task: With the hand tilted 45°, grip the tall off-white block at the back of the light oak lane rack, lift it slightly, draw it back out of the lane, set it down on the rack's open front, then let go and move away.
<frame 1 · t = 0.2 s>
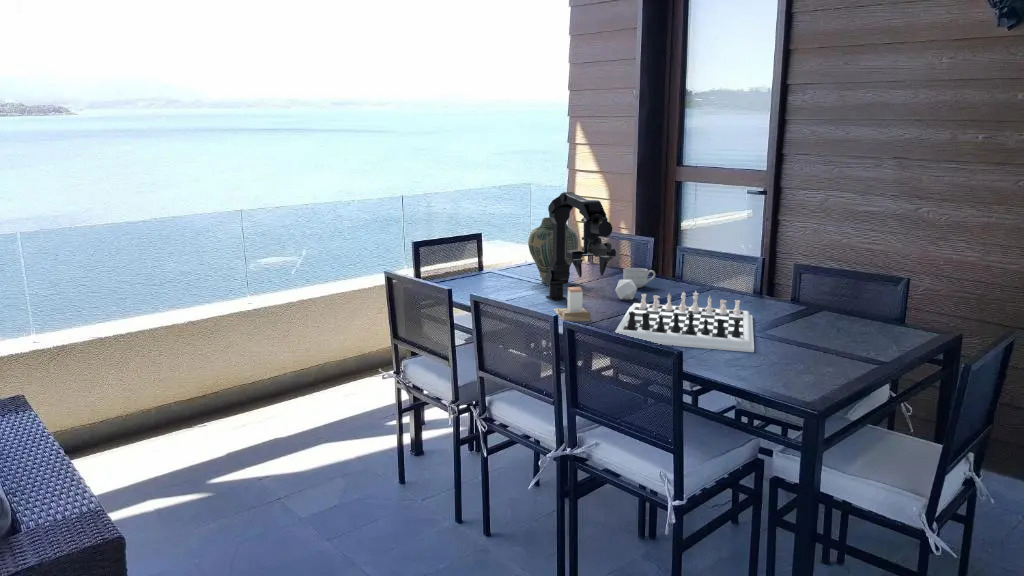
hand: (591, 276, 281), 14 cm above the table, tool pointing down, fingers open, 9 cm apart
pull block: (574, 317, 276), resting on lane rack
chess set: (685, 330, 264), on the table
lane rack: (571, 315, 280), on the table
die: (625, 299, 309), on the table
vase: (552, 282, 340), on the table
teacup: (638, 287, 332), on the table
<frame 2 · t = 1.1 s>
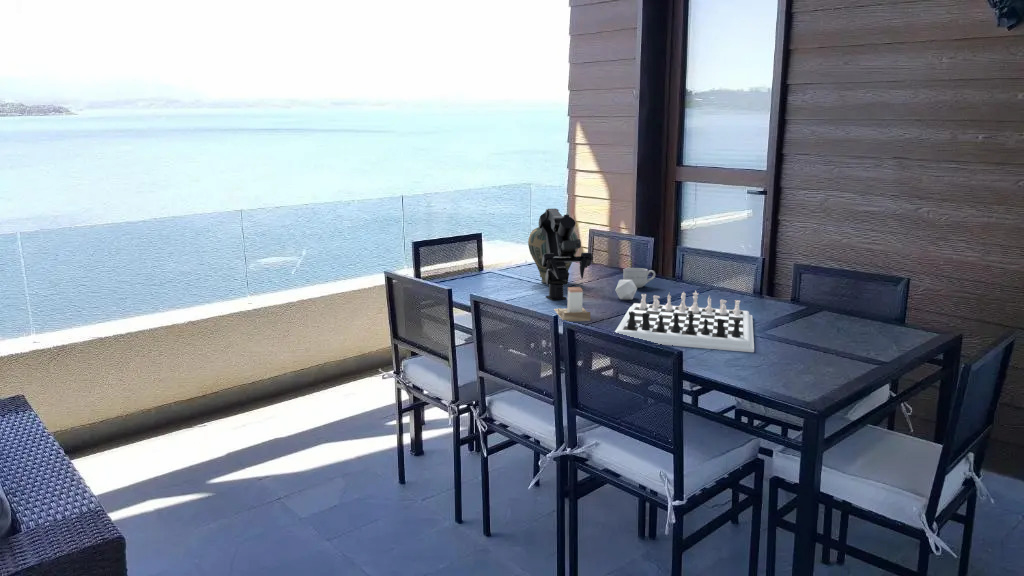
hand: (570, 278, 281), 14 cm above the table, tool tilted 45°, fingers open, 9 cm apart
nothing on the table moved.
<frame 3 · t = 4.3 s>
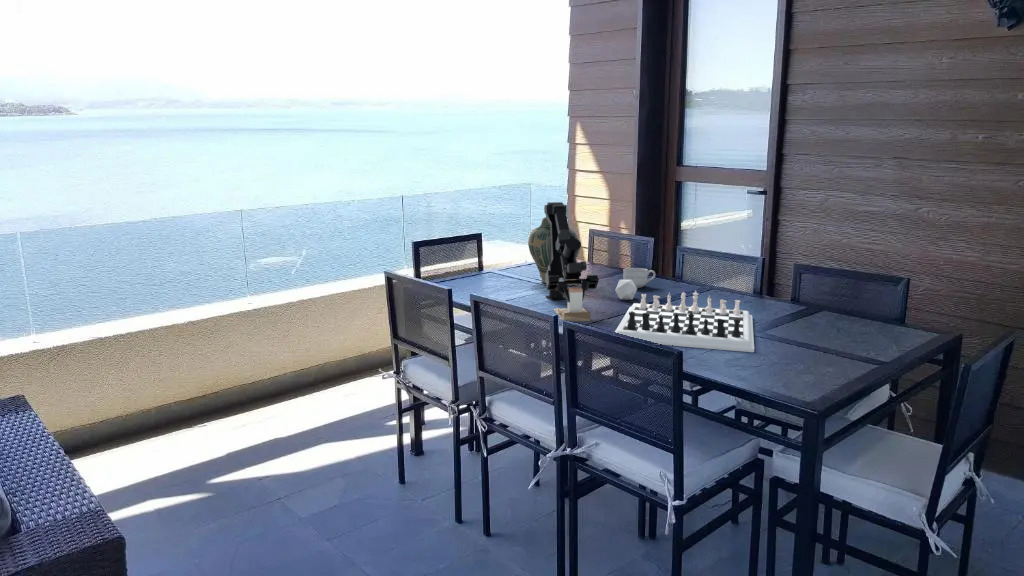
hand: (575, 301, 273), 7 cm above the table, tool tilted 45°, fingers closed on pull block, 4 cm apart
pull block: (574, 317, 276), resting on lane rack, touching gripper
everything else where it was.
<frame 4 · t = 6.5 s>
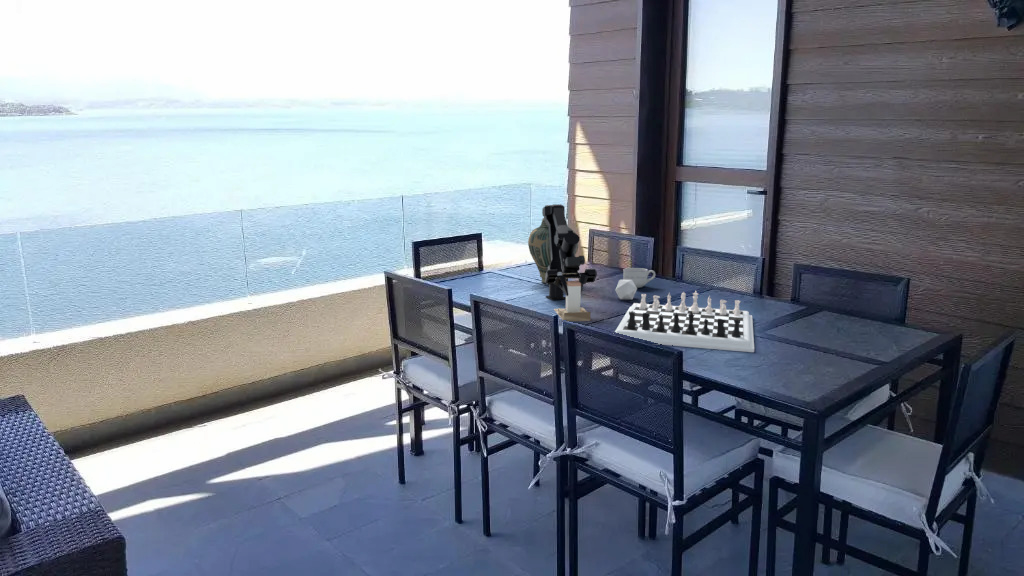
hand: (574, 295, 276), 9 cm above the table, tool tilted 45°, fingers closed on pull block, 4 cm apart
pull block: (572, 311, 278), point 2 cm above the table, touching gripper
everything else where it was.
when the fingers open (8 cm above the table, at t = 8.7 s): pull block drops 1 cm, resting on lane rack.
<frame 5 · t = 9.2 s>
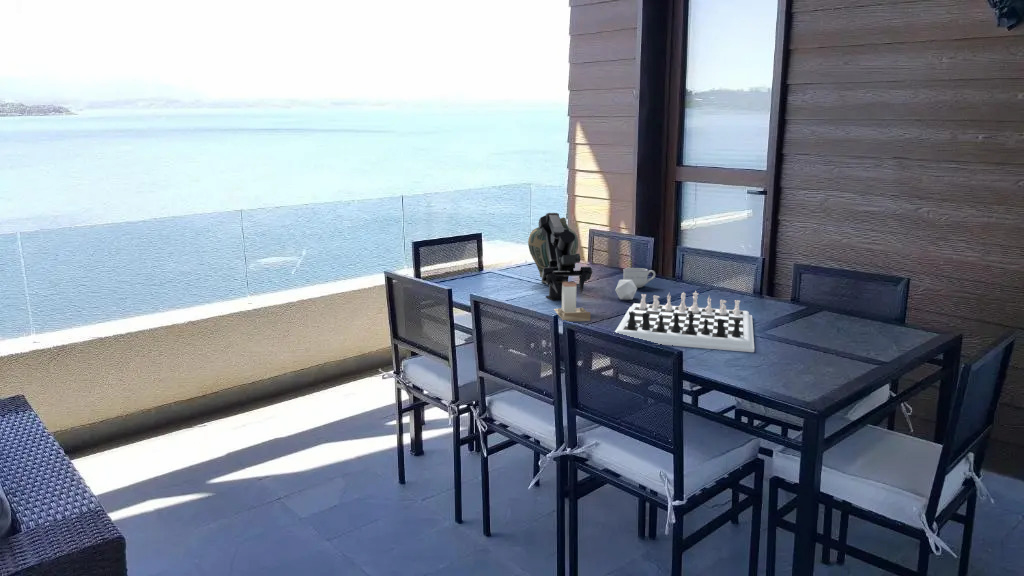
hand: (569, 292, 282), 8 cm above the table, tool tilted 45°, fingers open, 9 cm apart
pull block: (568, 311, 285), resting on lane rack
everything else where it was.
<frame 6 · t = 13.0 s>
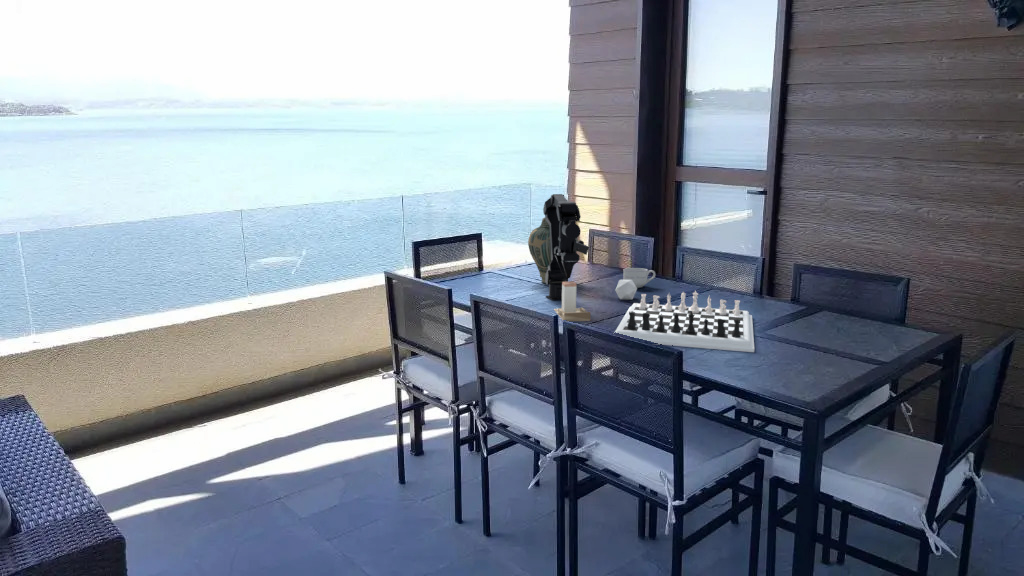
hand: (565, 275, 289), 13 cm above the table, tool pointing down, fingers open, 9 cm apart
nothing on the table moved.
at the end: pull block 0.6 cm from the target spot, point 0.5 cm above the table; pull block tilted 0°; the gripper is holding nothing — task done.
